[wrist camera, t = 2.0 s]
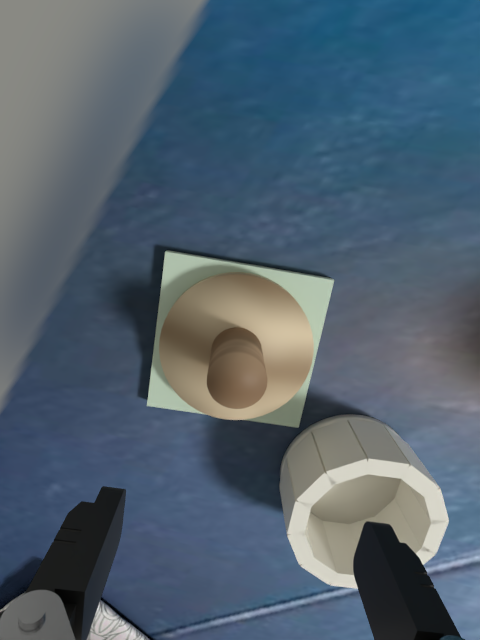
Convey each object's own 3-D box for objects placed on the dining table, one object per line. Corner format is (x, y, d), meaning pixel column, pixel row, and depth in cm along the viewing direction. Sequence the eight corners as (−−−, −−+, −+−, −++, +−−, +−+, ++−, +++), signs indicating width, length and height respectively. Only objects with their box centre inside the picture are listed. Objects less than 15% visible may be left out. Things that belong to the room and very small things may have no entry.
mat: (167, 250, 28) (165, 251, 27) (331, 278, 29) (334, 280, 28) (149, 400, 31) (146, 405, 31) (296, 422, 32) (298, 427, 31)
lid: (171, 259, 28) (154, 275, 22) (325, 285, 28) (350, 307, 22) (154, 400, 31) (134, 448, 25) (293, 421, 31) (307, 472, 25)
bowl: (294, 405, 32) (308, 449, 26) (426, 424, 32) (468, 472, 27) (268, 516, 35) (275, 578, 29) (389, 532, 35) (419, 596, 30)
